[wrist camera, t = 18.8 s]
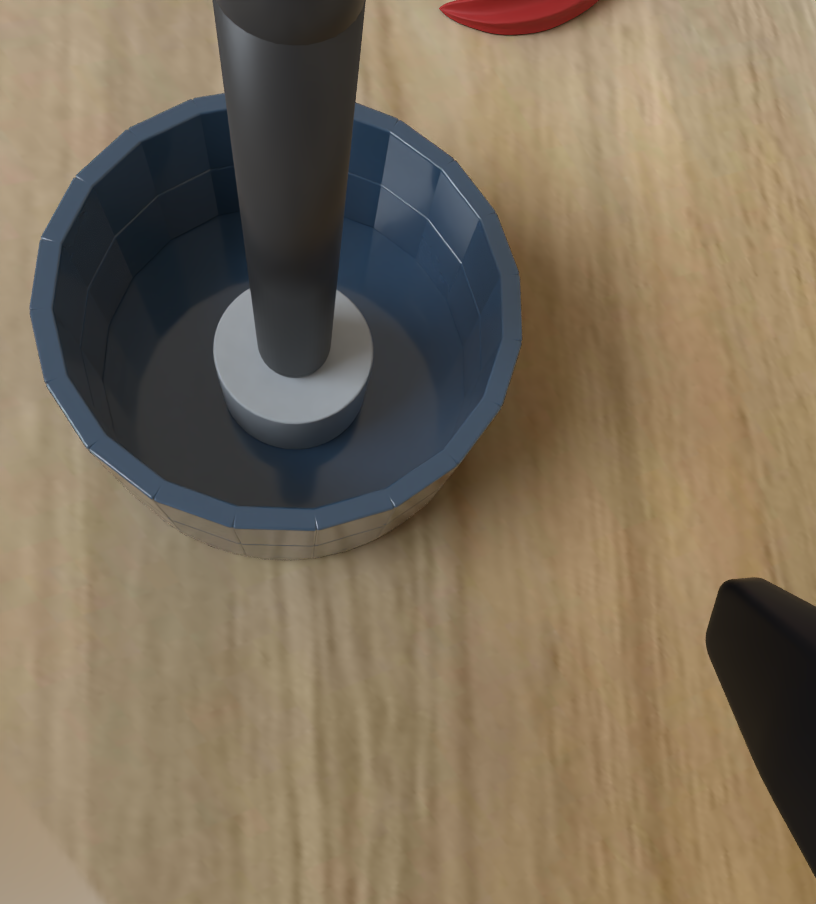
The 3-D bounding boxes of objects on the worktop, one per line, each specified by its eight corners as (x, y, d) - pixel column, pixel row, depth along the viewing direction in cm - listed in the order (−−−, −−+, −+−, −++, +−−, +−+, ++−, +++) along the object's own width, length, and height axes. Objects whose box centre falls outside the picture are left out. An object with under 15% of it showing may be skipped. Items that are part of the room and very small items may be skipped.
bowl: (140, 612, 20) (90, 596, 15) (55, 244, 22) (-12, 129, 17) (525, 498, 22) (588, 452, 17) (411, 175, 24) (438, 57, 20)
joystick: (337, 470, 21) (408, 123, 8) (199, 420, 21) (17, -24, 7) (384, 344, 22) (516, -149, 9) (253, 297, 22) (182, -282, 9)
